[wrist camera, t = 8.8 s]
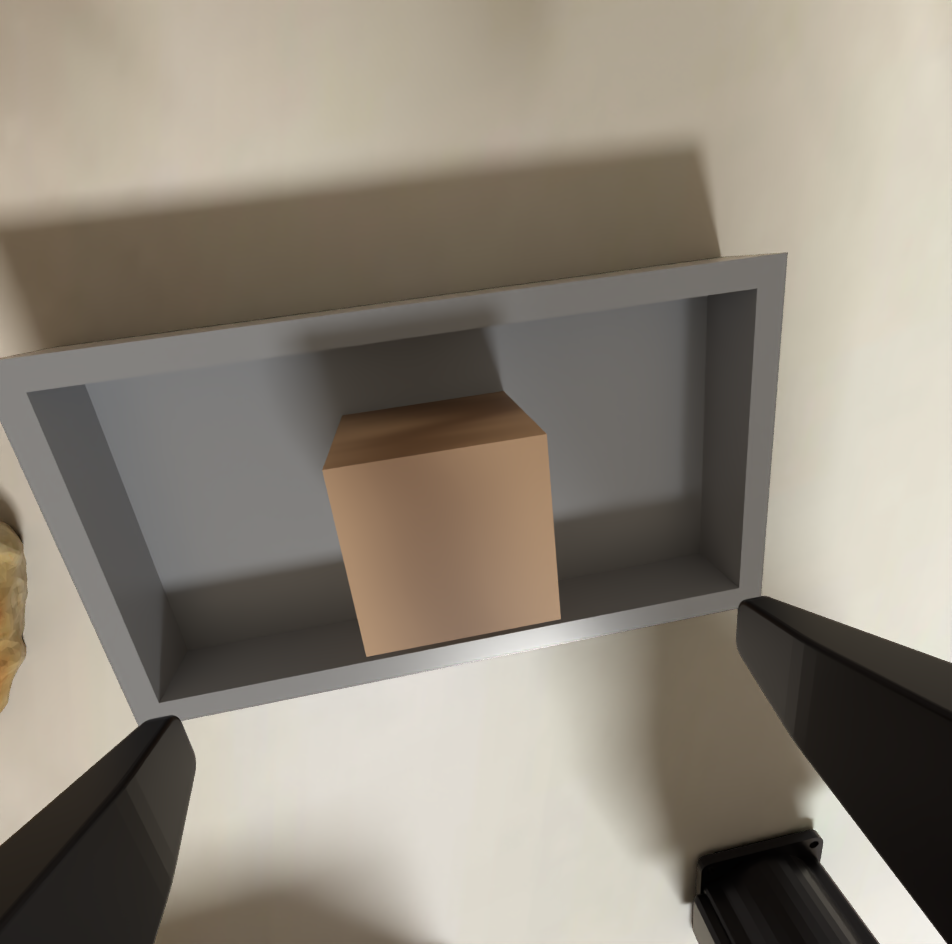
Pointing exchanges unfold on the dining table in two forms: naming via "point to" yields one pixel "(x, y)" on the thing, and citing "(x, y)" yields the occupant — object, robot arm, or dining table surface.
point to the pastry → (11, 608)
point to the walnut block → (444, 520)
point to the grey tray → (381, 387)
